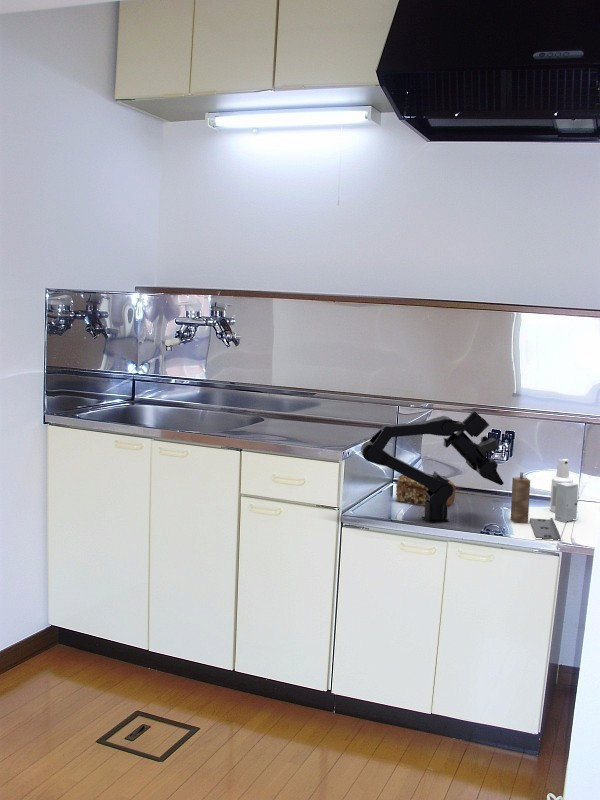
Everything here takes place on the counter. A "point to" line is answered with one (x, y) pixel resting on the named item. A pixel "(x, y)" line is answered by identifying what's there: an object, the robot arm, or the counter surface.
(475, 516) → the counter surface
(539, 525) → the flange strip
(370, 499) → the counter surface
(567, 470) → the spray bottle
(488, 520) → the counter surface
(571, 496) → the skincare box
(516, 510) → the post
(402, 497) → the bread
